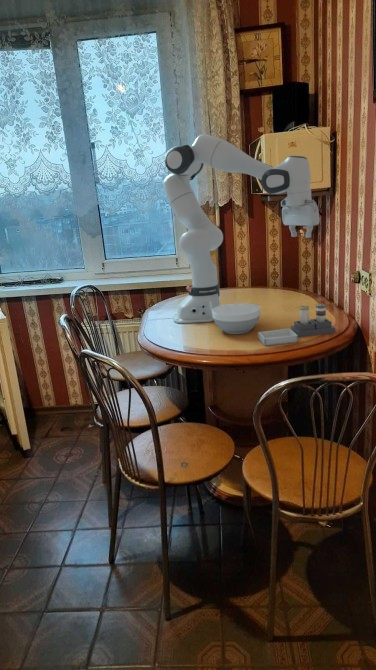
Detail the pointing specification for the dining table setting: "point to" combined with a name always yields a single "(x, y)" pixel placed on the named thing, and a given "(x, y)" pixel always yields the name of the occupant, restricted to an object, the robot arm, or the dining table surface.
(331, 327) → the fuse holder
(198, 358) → the dining table surface
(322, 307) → the fuse
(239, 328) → the bowl
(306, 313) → the fuse
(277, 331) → the parts tray
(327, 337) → the dining table surface
